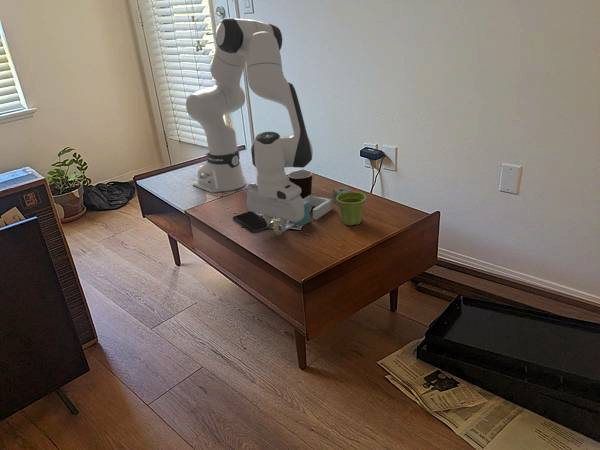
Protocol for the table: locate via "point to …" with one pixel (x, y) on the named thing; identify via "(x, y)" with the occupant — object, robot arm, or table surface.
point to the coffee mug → (302, 181)
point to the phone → (251, 221)
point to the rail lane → (319, 205)
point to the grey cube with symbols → (339, 191)
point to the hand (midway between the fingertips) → (276, 228)
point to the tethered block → (302, 222)
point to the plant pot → (351, 207)
